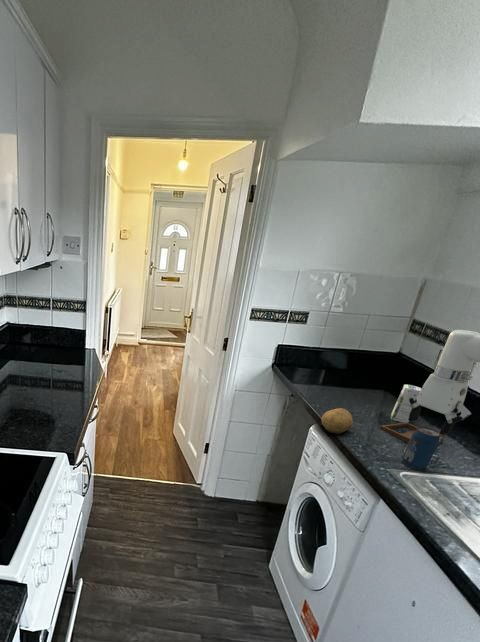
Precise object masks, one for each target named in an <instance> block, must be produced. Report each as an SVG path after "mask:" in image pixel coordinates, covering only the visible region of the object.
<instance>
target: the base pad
mask: <svg viewBox="0 0 480 642" xmlns="http://www.w3.org/2000/svg"><path fill="white" fill-rule="evenodd" d="M419 427H420V426H419ZM419 427H418V426H416V425H414V424H413V423H412V424H411V423H409V422H408V423H403V422H399V423H392V424H383V425H380V428H379V429H380V430H382V431H384V432H385V433H387V434H389V435H391V436H393V437H395V438H396V439H399V440H401V441H403V442H405V443H407V444H408V443H409V440H410V438H411V436H412V434H413V432H414V431H416V430H417V428H419ZM400 428H407V429H409V430H410V431H405V432H402V433H400V432H398V431H396V430H393V429H400ZM443 441H444V437H442V436H440V442H439V444H442V443H443Z"/></svg>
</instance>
